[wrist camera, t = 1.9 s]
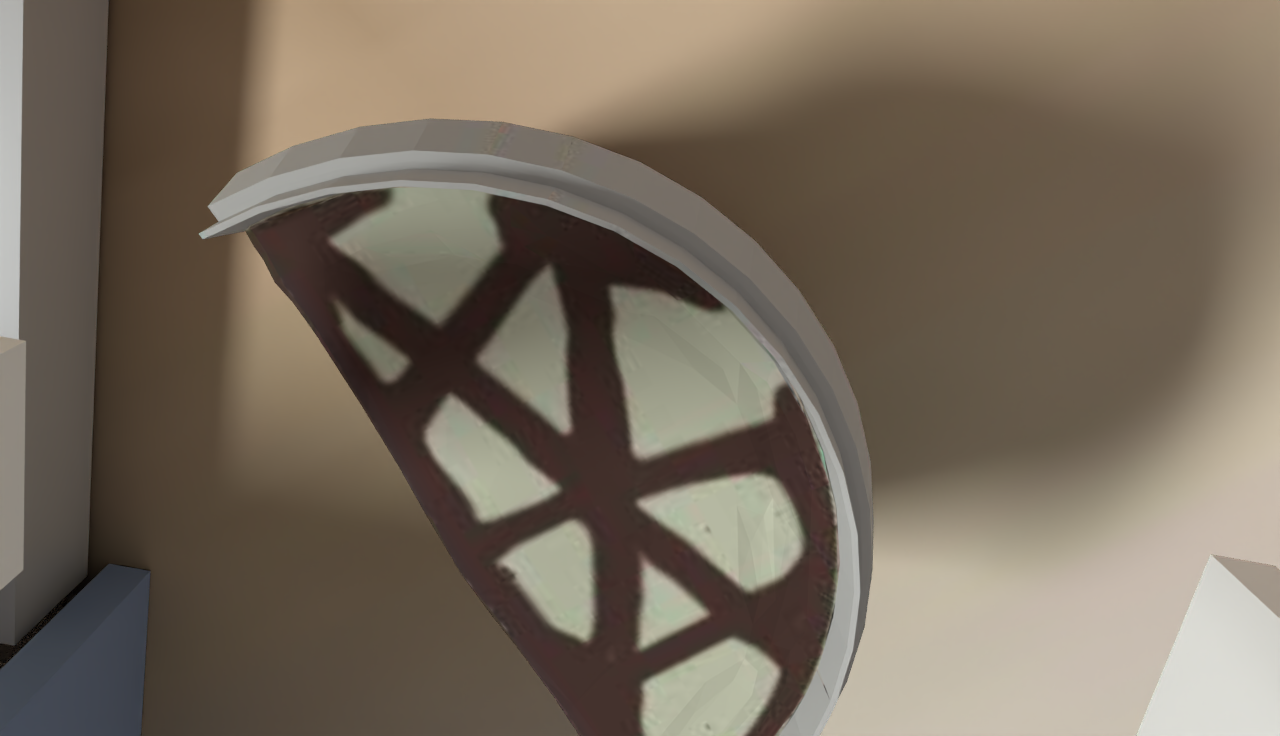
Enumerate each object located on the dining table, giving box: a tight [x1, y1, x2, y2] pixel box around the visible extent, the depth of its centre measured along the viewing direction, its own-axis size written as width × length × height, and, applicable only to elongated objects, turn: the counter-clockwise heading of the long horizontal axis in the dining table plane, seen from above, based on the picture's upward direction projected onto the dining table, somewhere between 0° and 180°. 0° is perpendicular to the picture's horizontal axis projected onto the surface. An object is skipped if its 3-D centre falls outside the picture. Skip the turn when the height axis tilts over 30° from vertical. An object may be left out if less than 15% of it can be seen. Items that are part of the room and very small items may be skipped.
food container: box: [199, 119, 874, 736], centre depth 18 cm, size 12×6×10 cm, turn 29°
